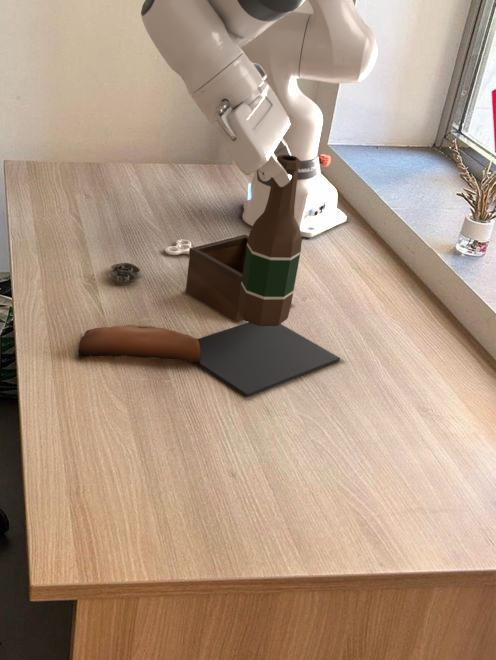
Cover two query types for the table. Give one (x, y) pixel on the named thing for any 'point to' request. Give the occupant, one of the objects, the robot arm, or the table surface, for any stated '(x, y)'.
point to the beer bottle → (272, 255)
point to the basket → (218, 274)
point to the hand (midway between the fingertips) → (290, 177)
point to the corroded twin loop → (124, 273)
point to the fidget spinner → (179, 247)
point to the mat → (260, 357)
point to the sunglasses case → (139, 343)
